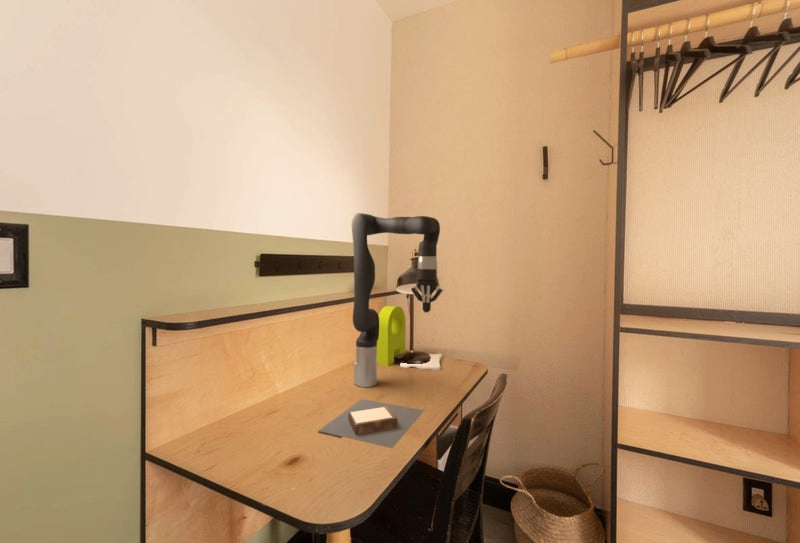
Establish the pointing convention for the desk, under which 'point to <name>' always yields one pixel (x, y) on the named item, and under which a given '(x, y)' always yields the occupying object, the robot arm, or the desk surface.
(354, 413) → the walnut picture frame
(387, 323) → the decorative object
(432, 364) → the flat white fragment
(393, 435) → the desk mat
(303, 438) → the desk surface
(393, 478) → the desk surface
